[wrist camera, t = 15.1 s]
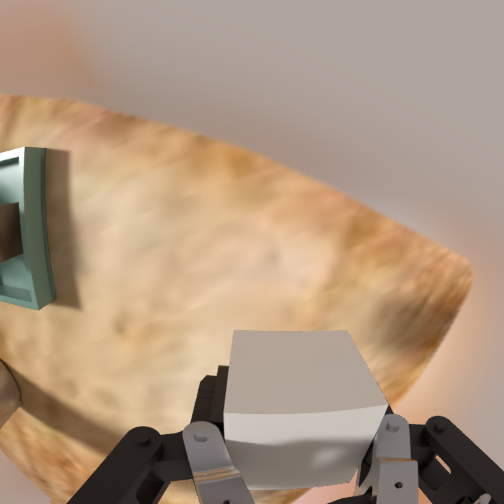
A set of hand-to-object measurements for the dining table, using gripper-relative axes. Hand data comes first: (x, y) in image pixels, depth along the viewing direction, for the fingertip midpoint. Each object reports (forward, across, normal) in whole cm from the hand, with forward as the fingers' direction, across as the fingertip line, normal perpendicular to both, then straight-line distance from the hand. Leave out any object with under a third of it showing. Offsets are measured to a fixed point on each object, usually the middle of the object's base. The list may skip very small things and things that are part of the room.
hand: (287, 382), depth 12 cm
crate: (+11, +26, -5) cm, 29 cm away
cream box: (+1, 0, 0) cm, 1 cm away
